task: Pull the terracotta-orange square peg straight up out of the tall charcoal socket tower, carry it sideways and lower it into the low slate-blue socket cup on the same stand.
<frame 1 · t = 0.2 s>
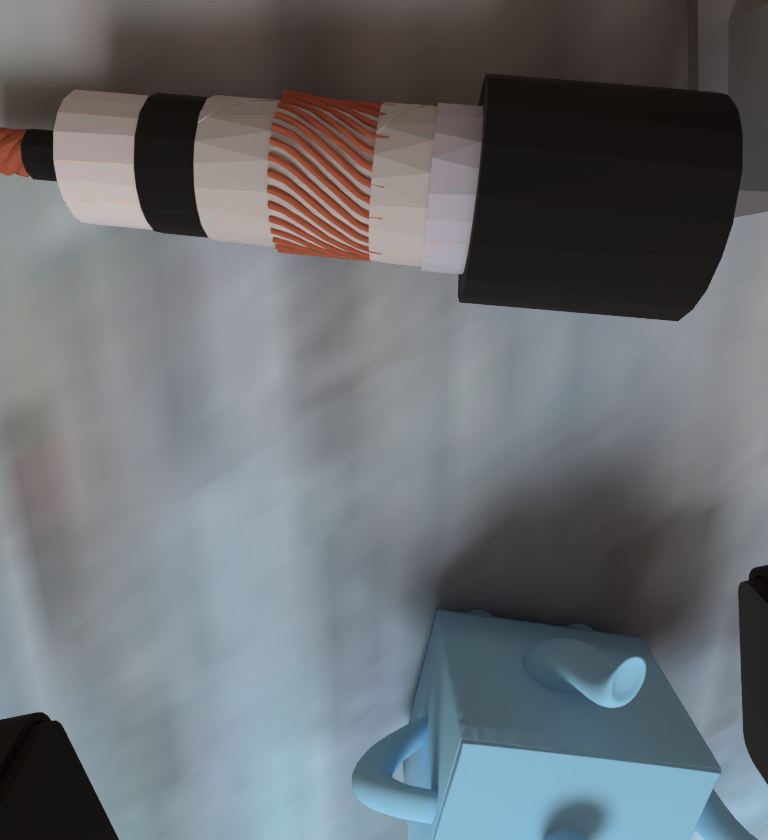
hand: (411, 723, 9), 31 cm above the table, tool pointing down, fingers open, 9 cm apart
teakettle: (525, 675, 48), on the table
cable: (334, 179, 36), on the table
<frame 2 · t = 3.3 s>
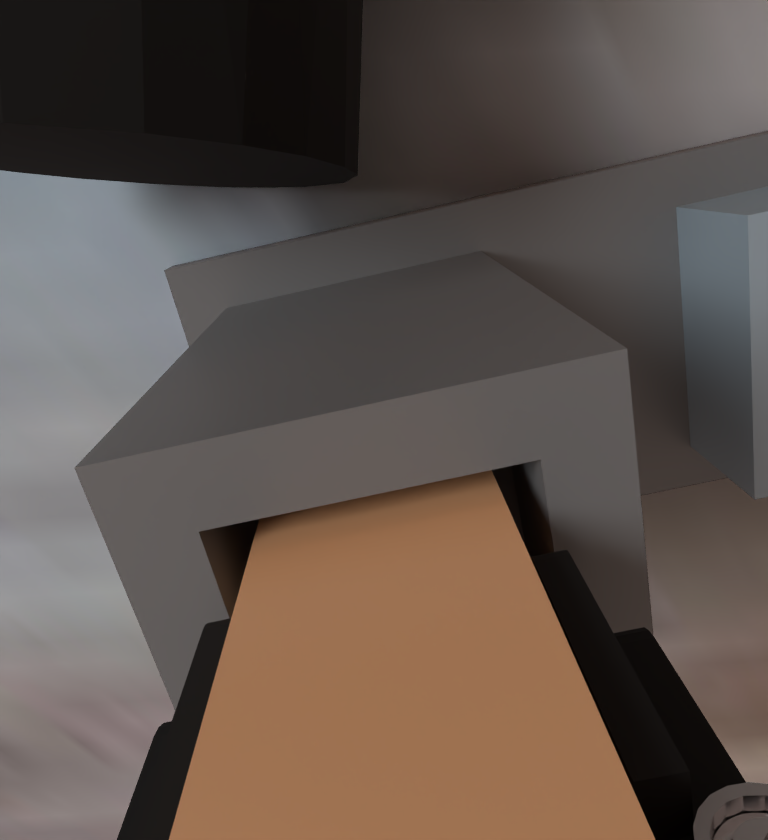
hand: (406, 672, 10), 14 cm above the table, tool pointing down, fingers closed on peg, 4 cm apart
peg: (393, 541, 14), point 10 cm above the table, touching gripper, socket stand
socket stand: (582, 346, 23), on the table
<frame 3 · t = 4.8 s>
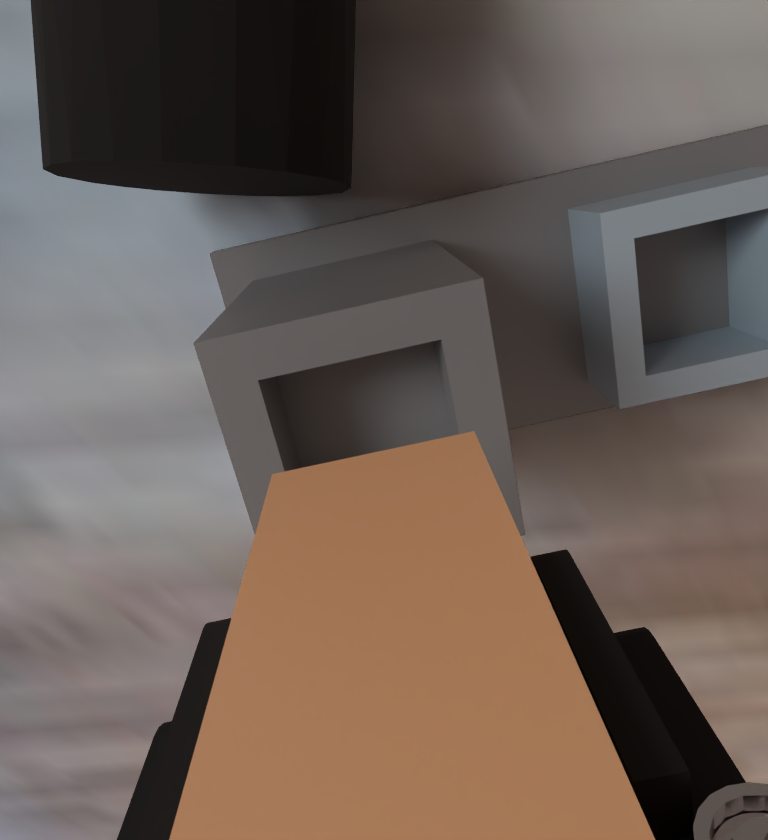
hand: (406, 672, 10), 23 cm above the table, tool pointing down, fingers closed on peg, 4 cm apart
peg: (393, 540, 14), point 19 cm above the table, touching gripper
socket stand: (508, 309, 32), on the table
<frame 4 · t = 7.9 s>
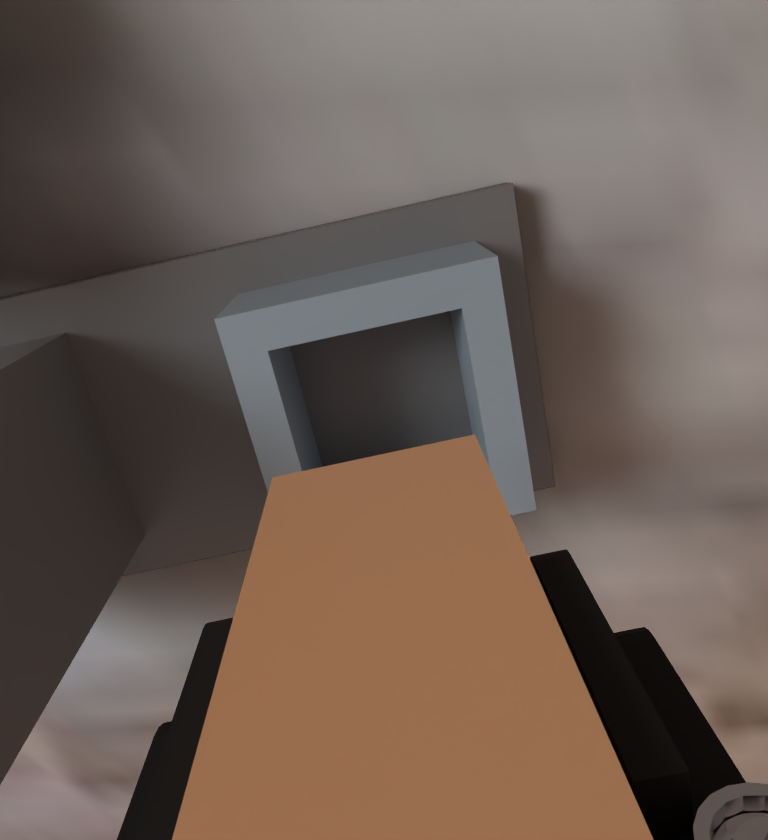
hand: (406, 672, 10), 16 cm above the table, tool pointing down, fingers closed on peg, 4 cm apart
peg: (394, 544, 14), point 12 cm above the table, touching gripper
socket stand: (195, 412, 25), on the table
when the fingers open (6 cm above the table, at t = 10.4 s): peg drops 1 cm, resting on socket stand.
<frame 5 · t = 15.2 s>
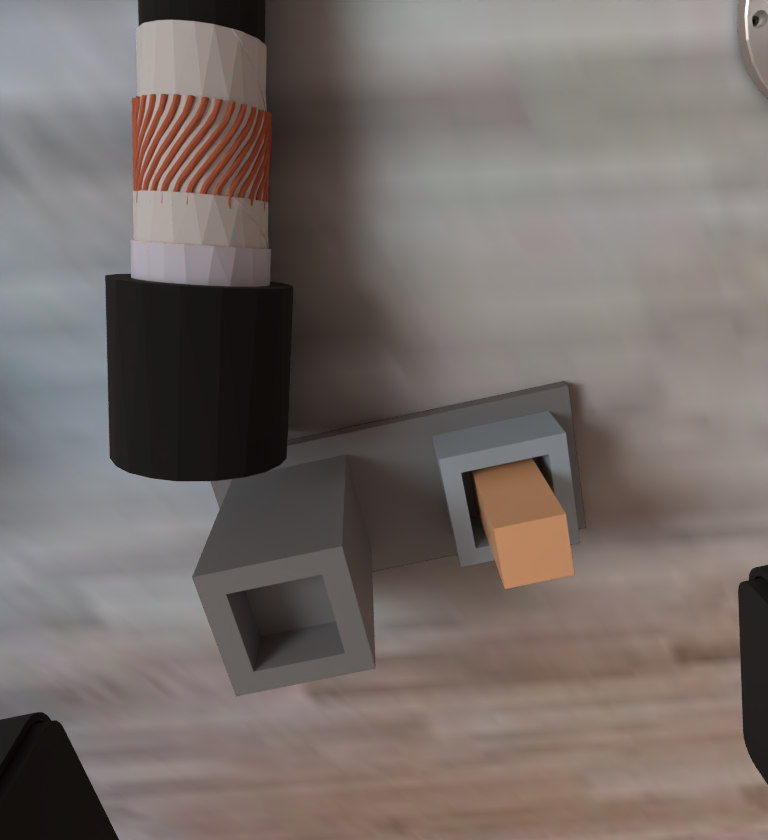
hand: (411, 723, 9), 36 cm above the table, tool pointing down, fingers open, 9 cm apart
peg: (499, 476, 47), point 1 cm above the table, touching socket stand
socket stand: (400, 490, 48), on the table
cable: (218, 156, 41), on the table
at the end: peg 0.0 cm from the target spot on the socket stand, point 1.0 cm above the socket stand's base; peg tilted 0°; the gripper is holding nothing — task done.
